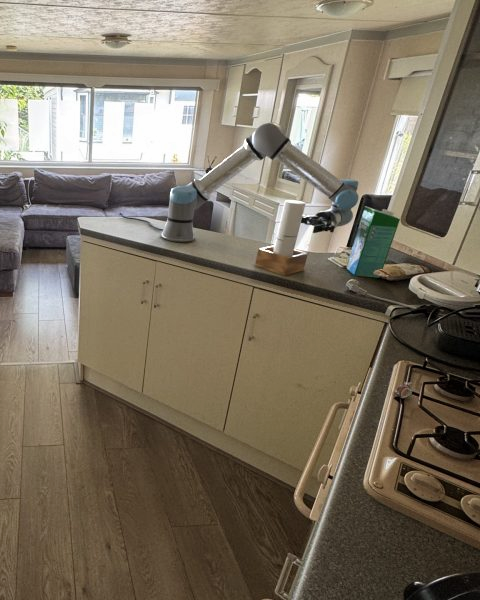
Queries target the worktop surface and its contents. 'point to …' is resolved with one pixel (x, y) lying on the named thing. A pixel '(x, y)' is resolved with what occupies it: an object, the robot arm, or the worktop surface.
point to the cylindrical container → (289, 227)
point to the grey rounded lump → (403, 391)
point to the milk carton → (372, 242)
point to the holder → (280, 261)
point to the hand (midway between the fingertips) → (297, 225)
